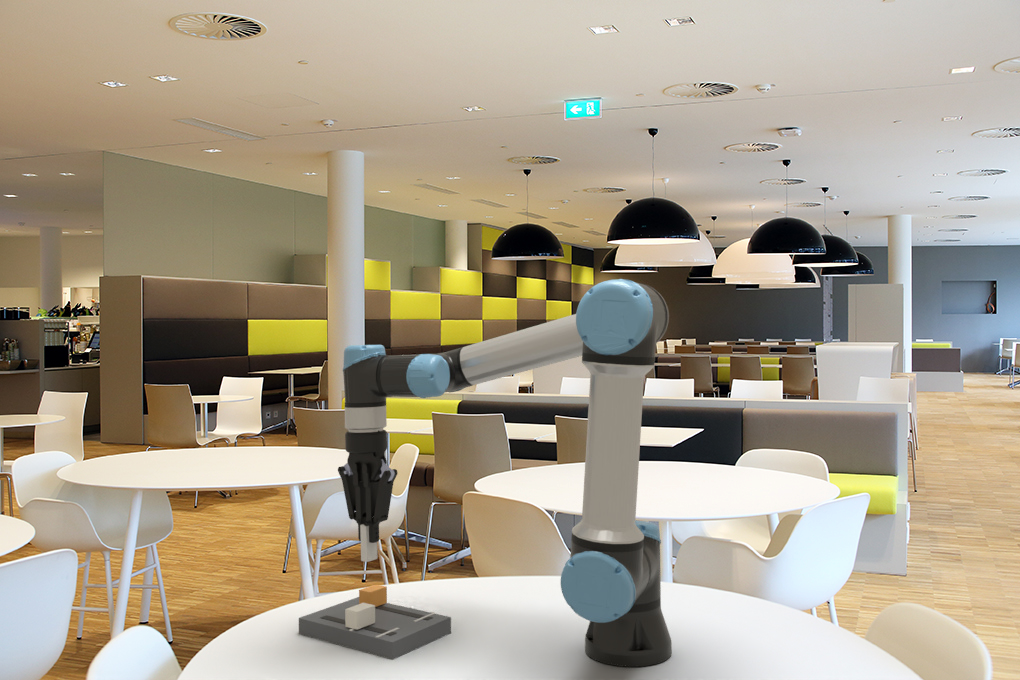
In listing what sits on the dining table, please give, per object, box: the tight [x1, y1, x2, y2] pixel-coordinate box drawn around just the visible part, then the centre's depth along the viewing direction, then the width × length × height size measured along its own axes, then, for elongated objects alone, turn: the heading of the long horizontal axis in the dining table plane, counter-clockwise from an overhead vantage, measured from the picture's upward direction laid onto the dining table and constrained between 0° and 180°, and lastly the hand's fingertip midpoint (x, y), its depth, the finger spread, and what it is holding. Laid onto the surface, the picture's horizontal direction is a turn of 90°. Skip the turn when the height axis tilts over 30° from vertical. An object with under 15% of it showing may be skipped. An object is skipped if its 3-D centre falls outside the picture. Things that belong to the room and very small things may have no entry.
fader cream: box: [345, 603, 375, 630], centre depth 160 cm, size 3×5×3 cm, turn 145°
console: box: [298, 596, 452, 660], centre depth 165 cm, size 24×16×3 cm, turn 55°
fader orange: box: [358, 584, 388, 607], centre depth 172 cm, size 3×5×3 cm, turn 145°
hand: (369, 559), depth 159 cm, fingers closed
